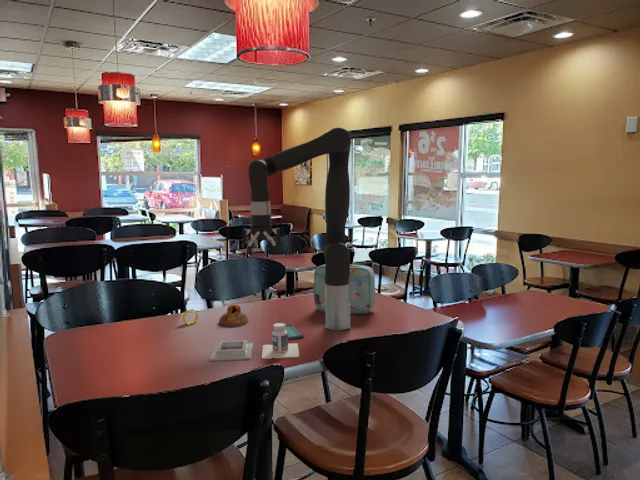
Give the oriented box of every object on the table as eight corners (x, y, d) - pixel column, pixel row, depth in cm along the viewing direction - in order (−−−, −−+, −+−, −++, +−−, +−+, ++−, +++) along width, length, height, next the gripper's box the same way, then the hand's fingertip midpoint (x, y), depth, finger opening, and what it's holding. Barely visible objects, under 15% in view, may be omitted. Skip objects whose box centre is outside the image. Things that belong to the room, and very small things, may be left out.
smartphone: (290, 324, 189) (304, 335, 175) (291, 327, 189) (304, 338, 175) (272, 326, 186) (284, 338, 172) (272, 329, 186) (284, 341, 172)
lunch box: (309, 312, 207) (308, 263, 204) (317, 306, 216) (316, 259, 213) (371, 317, 199) (371, 265, 196) (376, 310, 209) (376, 261, 206)
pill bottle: (288, 347, 165) (287, 322, 163) (288, 352, 159) (287, 327, 158) (273, 347, 165) (272, 322, 163) (271, 353, 159) (271, 327, 158)
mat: (297, 344, 168) (297, 343, 168) (299, 357, 157) (299, 356, 157) (263, 346, 167) (263, 344, 167) (261, 359, 156) (261, 357, 156)
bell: (251, 318, 200) (250, 301, 199) (244, 327, 189) (243, 309, 188) (224, 318, 202) (223, 301, 201) (215, 327, 190) (214, 309, 189)
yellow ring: (185, 326, 192) (183, 312, 191) (182, 324, 194) (180, 310, 193) (199, 322, 195) (197, 308, 194) (196, 320, 198) (194, 306, 197)
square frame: (253, 344, 169) (252, 338, 168) (251, 359, 156) (250, 351, 156) (215, 346, 168) (215, 339, 167) (210, 361, 155) (209, 353, 154)
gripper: (279, 212, 187) (281, 253, 190) (242, 212, 186) (244, 254, 188) (279, 213, 180) (281, 256, 182) (241, 214, 179) (243, 257, 181)
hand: (262, 255), depth 185 cm, fingers open, 8 cm apart
